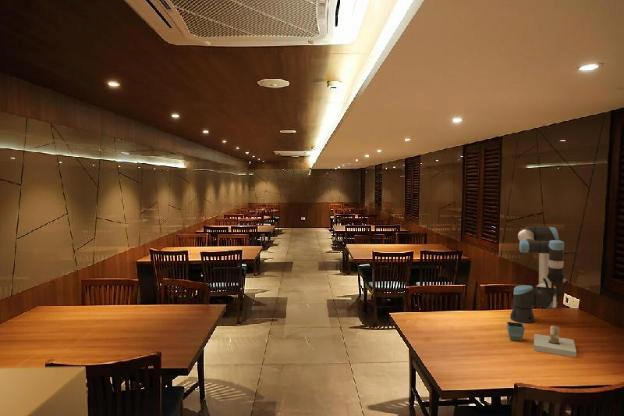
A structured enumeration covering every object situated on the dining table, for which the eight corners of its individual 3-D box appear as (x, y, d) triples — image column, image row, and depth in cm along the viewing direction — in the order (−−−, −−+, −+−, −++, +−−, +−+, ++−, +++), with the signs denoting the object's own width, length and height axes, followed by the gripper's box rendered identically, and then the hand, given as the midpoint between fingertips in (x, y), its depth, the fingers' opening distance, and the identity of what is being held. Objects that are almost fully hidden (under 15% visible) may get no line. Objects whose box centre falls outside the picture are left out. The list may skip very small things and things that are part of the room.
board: (534, 350, 231) (534, 345, 231) (534, 338, 249) (534, 333, 248) (576, 357, 222) (576, 352, 221) (573, 344, 239) (573, 339, 239)
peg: (550, 348, 234) (550, 327, 233) (549, 345, 238) (550, 325, 237) (559, 349, 232) (559, 328, 231) (558, 346, 236) (559, 326, 235)
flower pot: (522, 337, 251) (522, 322, 250) (524, 342, 242) (524, 327, 242) (506, 335, 254) (506, 321, 253) (508, 340, 245) (508, 326, 245)
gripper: (543, 267, 238) (541, 307, 240) (569, 269, 232) (567, 310, 234) (542, 264, 245) (541, 303, 247) (568, 266, 239) (567, 306, 241)
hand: (554, 306), depth 240 cm, fingers closed
